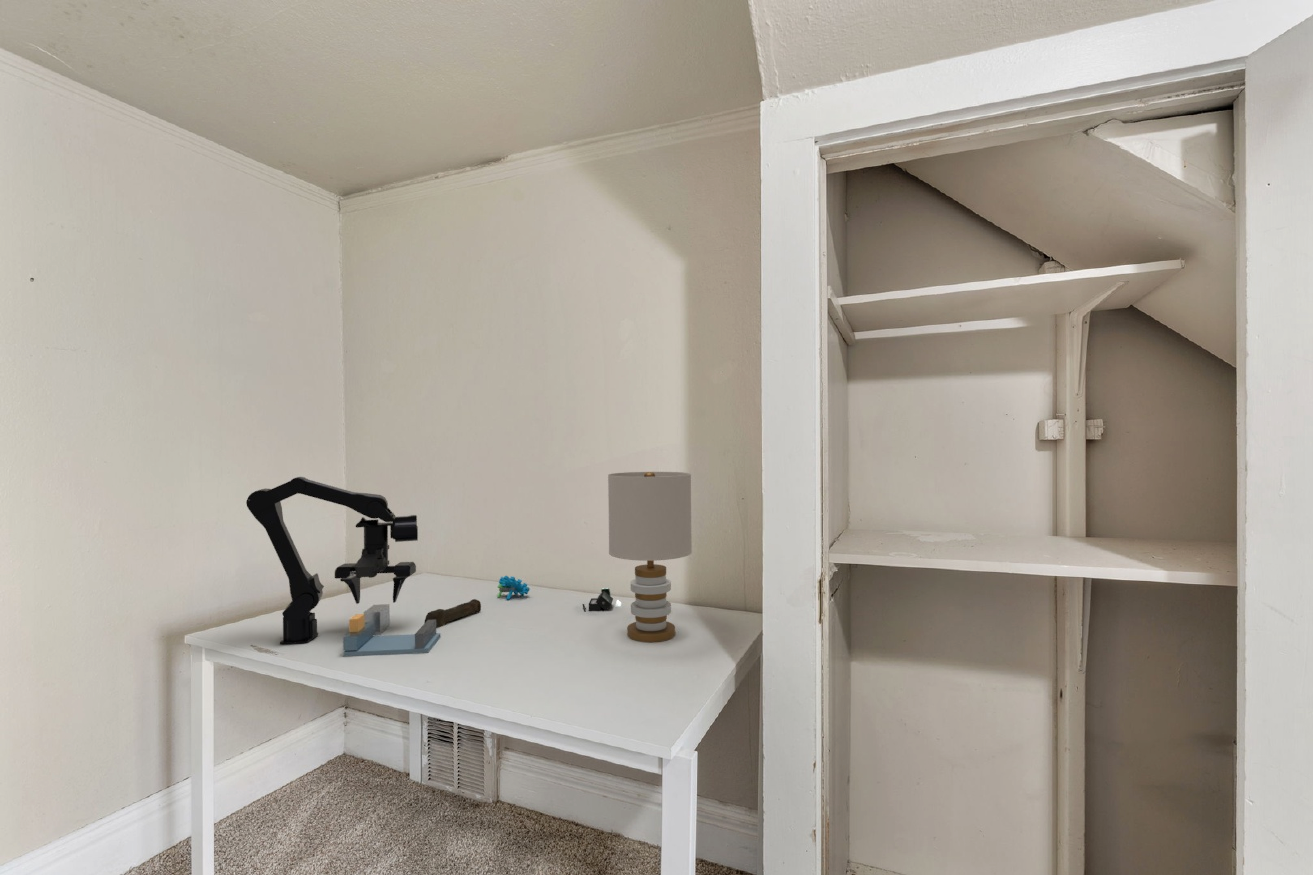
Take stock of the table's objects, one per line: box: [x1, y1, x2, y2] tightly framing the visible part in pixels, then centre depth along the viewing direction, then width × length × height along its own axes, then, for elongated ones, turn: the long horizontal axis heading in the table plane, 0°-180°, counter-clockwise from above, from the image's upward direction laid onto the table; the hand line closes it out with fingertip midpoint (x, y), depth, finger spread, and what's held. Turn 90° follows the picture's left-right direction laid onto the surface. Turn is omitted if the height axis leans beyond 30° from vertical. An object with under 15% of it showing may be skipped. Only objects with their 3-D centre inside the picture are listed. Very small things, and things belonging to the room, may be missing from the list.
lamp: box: [607, 471, 693, 643], centre depth 152 cm, size 21×21×41 cm
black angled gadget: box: [582, 587, 622, 613], centre depth 176 cm, size 15×15×6 cm
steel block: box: [363, 603, 391, 636], centre depth 158 cm, size 4×7×6 cm, turn 6°
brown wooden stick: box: [423, 598, 482, 629], centre depth 166 cm, size 19×4×5 cm, turn 151°
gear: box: [496, 575, 531, 601], centre depth 188 cm, size 11×6×10 cm
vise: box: [342, 620, 441, 657], centre depth 145 cm, size 19×11×4 cm, turn 96°
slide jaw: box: [342, 613, 375, 652], centre depth 145 cm, size 3×11×6 cm, turn 6°
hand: (376, 602), depth 157 cm, fingers open, 9 cm apart
